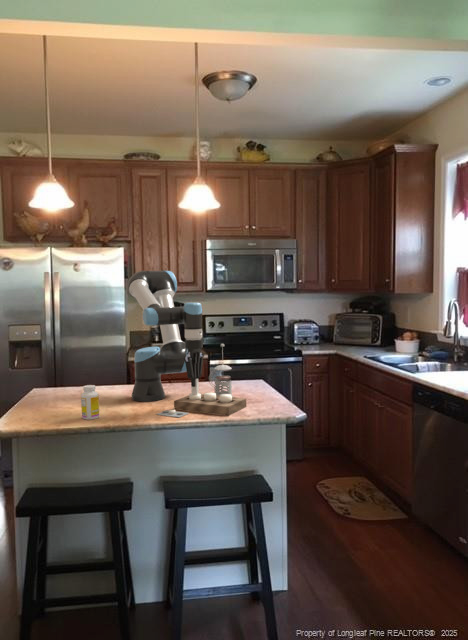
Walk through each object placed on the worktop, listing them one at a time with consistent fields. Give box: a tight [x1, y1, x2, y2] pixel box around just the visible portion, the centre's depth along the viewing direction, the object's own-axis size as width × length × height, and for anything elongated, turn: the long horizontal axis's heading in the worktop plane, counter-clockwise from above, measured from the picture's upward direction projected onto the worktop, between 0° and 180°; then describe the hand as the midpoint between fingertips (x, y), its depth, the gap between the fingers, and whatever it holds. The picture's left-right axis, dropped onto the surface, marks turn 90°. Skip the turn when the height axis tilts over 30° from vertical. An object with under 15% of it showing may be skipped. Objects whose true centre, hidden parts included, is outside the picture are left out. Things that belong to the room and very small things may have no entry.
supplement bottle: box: [80, 384, 100, 421], centre depth 203 cm, size 7×7×13 cm
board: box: [173, 393, 247, 417], centre depth 216 cm, size 26×16×4 cm, turn 63°
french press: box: [208, 343, 234, 397], centre depth 235 cm, size 10×12×25 cm
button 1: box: [188, 392, 202, 400], centre depth 220 cm, size 5×5×3 cm
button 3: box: [220, 394, 233, 404], centre depth 213 cm, size 5×5×3 cm
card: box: [156, 409, 190, 418], centre depth 207 cm, size 11×7×2 cm, turn 63°
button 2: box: [203, 392, 216, 402], centre depth 216 cm, size 5×5×3 cm
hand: (195, 393), depth 219 cm, fingers closed
